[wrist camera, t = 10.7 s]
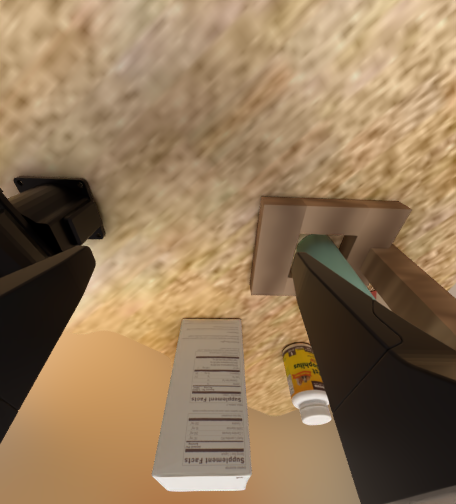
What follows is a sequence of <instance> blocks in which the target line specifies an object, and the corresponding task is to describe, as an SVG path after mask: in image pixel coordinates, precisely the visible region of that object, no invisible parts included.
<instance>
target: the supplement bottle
mask: <svg viewBox="0 0 456 504" xmlns="http://www.w3.org/2000/svg"><path fill="white" fill-rule="evenodd" d="M282 356H283V361H284V366H285V370H286V375H287V380H288V385H289V389H290V394H291V399H292V403H293V405H294V406H295V407H296V408H298V409H299V410H300V414H301V418H302V422H303V423H305V424H308V425H320V424H325V423H327V422H329V421H330V420H331V416H330V413H329V409H328V406H327V405H328V404H329V401H328V398H327V395H326V391H325V388H324V385H323V382H322V379H321V376H320V372H319V369H318V366H317V363H316V360H315V357H314V353H313V350H312V347H311V346H310V345H308V344H304V343H296V344H292V345H290V346H288V347H286V348H285V349H284V351H283V353H282Z"/></svg>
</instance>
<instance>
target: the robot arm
mask: <svg viewBox="0 0 456 504" xmlns="http://www.w3.org/2000/svg"><path fill="white" fill-rule="evenodd" d="M20 181H21V182H22V183H23V184H22V183H21V182H20ZM14 183H15V185H16V187H17V188H18V190H19V192H20V194H17V195H15V196H13V197H11V198H8V199H7V198H6V197H5V195H4V194H3V193H2V192H3V191H2V190H1V188H0V443H1V442H2V440H3V438H4V436H5V434H6V433H7V431H8V429H9V427H10V425H11V424H12V422H13V420H14V418H15V417H16V414H17V413H18V410H19V409H20V407H21V405H22V403H23V402H24V400H25V398H26V397H27V395H28V393H29V391H30V389H31V388H32V386H33V384H34V382H35V380H36V379H37V377H38V375H39V373H40V372H41V370H42V368H43V366H44V365H45V363H46V361H47V359H48V357H49V355H50V354H51V352H52V350H53V348H54V346H55V345H56V343H57V341H58V340H59V338H60V336H61V334H62V332H63V331H64V329H65V327H66V325H67V323H68V322H69V320H70V318H71V316H72V315H73V313H74V311H75V309H76V307H77V306H78V304H79V302H80V300H81V298H82V296H83V294H84V292H85V290H86V287H87V285H88V283H89V280H90V278H91V276H92V273H93V271H94V268H95V265H96V261H95V259H94V256H93V254H92V251H91V249H90V248H89V247H88V246H81V245H82V244H83V243H84V242H85V241H86V240H87V239H103V238H104V236H105V232H104V229H103V226H102V221H101V218H100V215H99V212H98V209H97V207H96V204H95V202H94V200H93V198H92V195H91V192H90V189H89V186H88V183H87V182H86V181H85V180H84V179H81V178H57V177H29V176H19V177H16V178H14ZM80 183H82V184H83V186H81V185H80ZM99 234H100V235H99ZM291 271H292V277H293V282H294V288H295V293H296V298H297V302H298V306H299V309H300V312H301V315H302V319H303V322H304V325H305V328H306V331H307V334H308V338H309V341H310V344H311V347H312V350H313V353H314V357H315V360H316V363H317V366H318V369H319V372H320V376H321V379H322V382H323V385H324V388H325V391H326V395H327V398H328V401H329V404H330V407H331V410H332V413H333V417H334V420H335V423H336V427H337V430H338V433H339V436H340V439H341V442H342V446H343V449H344V452H345V455H346V458H347V461H348V465H349V468H350V471H351V474H352V477H353V480H354V483H355V487H356V490H357V493H358V496H359V499H360V502H361V504H456V350H454V349H453V348H451V347H449V346H448V345H446V344H444V343H443V342H441V341H439V340H438V339H436V338H434V337H433V336H431V335H429V334H428V333H426V332H424V331H423V330H421V329H419V328H418V327H416V326H415V325H413V324H411V323H410V322H408V321H406V320H405V319H403V318H402V317H400V316H398V315H397V314H395V313H394V312H392V311H391V310H389V309H388V308H386V307H385V306H383V305H382V304H380V303H379V302H377V301H376V300H374V299H373V298H372V297H370V296H369V295H367V294H366V293H364V292H363V291H361V290H360V289H358V288H357V287H356V286H354V285H353V284H351V283H350V282H348V281H347V280H345V279H344V278H342V277H341V276H340V275H338V274H337V273H335V272H334V271H332V270H331V269H329V268H328V267H326V266H325V265H324V264H322V263H321V262H319V261H318V260H316V259H315V258H313V257H312V256H310V255H309V254H307V253H306V252H296V254H295V256H294V260H293V263H292V267H291Z"/></svg>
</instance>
